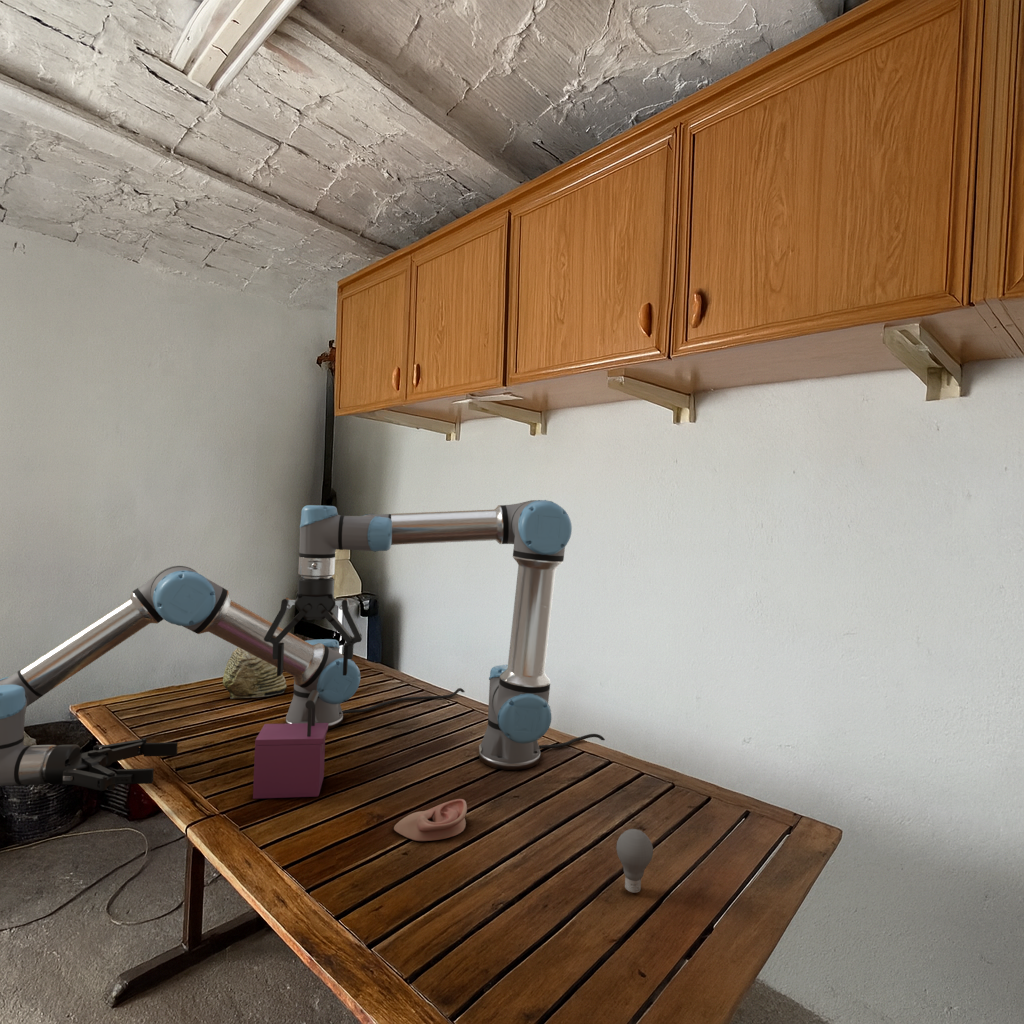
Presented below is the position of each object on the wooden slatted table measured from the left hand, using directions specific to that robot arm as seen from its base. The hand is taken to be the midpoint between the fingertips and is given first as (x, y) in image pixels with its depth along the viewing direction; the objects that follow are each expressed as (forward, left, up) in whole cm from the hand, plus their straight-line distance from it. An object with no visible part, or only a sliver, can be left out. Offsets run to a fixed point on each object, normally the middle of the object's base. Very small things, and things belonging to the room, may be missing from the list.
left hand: (165, 761), depth 133 cm
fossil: (-46, -47, -6) cm, 66 cm away
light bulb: (-37, +90, -6) cm, 97 cm away
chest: (-19, +17, -6) cm, 26 cm away
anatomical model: (-28, +51, -6) cm, 58 cm away
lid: (-19, +17, +5) cm, 26 cm away
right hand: (-22, +19, +18) cm, 34 cm away
